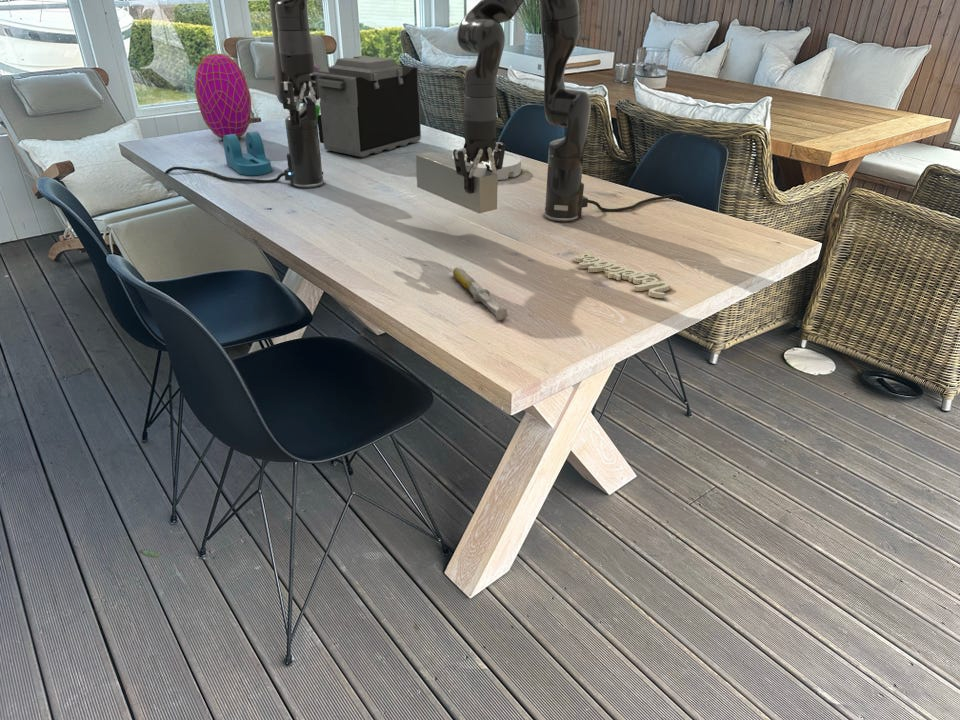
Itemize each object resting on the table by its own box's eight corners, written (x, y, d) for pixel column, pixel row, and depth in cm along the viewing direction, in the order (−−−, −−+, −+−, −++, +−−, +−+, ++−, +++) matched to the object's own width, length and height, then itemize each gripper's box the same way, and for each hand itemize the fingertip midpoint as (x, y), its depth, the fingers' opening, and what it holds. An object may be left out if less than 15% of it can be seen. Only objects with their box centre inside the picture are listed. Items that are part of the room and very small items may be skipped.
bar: (417, 187, 179) (415, 154, 174) (434, 183, 182) (433, 151, 177) (479, 213, 161) (479, 178, 157) (497, 209, 164) (497, 174, 160)
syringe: (449, 274, 155) (449, 263, 153) (465, 272, 156) (464, 260, 154) (490, 323, 135) (491, 310, 133) (508, 319, 136) (508, 307, 134)
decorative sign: (686, 282, 150) (660, 295, 144) (686, 286, 150) (659, 300, 144) (592, 249, 166) (565, 259, 160) (592, 253, 167) (565, 263, 161)
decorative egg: (221, 147, 254) (205, 59, 239) (195, 138, 265) (178, 54, 250) (266, 138, 266) (254, 54, 251) (239, 130, 277) (226, 49, 262)
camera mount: (227, 164, 233) (221, 132, 227) (257, 160, 238) (252, 129, 233) (244, 176, 220) (239, 143, 215) (276, 172, 225) (271, 139, 220)
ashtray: (453, 161, 240) (453, 149, 238) (520, 162, 239) (520, 150, 237) (449, 179, 220) (449, 167, 218) (521, 181, 219) (522, 168, 217)
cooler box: (383, 133, 276) (378, 52, 261) (425, 141, 265) (422, 56, 250) (314, 150, 251) (304, 61, 235) (358, 160, 240) (350, 67, 224)
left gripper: (295, 47, 166) (303, 116, 174) (265, 53, 154) (276, 128, 162) (324, 48, 164) (331, 118, 173) (296, 55, 153) (305, 130, 161)
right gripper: (464, 123, 148) (464, 200, 156) (515, 115, 155) (512, 189, 164) (444, 117, 153) (445, 192, 161) (494, 110, 161) (493, 181, 169)
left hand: (304, 123), depth 167 cm, fingers open, 8 cm apart
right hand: (479, 190), depth 163 cm, fingers closed on bar, 5 cm apart
